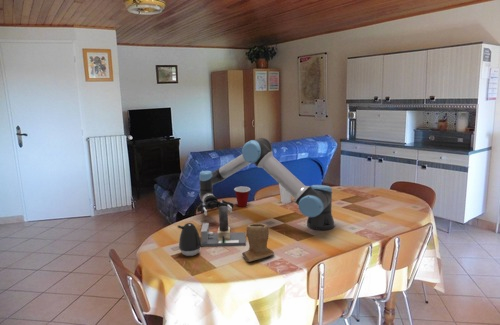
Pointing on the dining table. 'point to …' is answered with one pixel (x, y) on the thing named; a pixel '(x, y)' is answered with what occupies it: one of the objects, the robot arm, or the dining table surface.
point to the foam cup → (285, 195)
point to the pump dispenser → (189, 240)
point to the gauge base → (212, 240)
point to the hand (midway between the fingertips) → (219, 211)
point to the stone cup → (257, 242)
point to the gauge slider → (223, 224)
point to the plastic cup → (242, 195)
